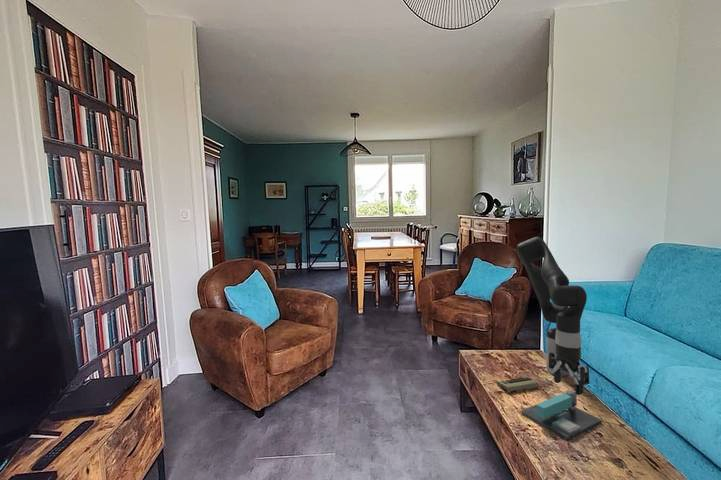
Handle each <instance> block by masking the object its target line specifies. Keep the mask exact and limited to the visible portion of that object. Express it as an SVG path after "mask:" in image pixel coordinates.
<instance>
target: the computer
mask: <svg viewBox="0 0 721 480" xmlns="http://www.w3.org/2000/svg"><path fill="white" fill-rule="evenodd" d="M496 386H497V387H499V388H500V389H501V390H503V391H504V392H505V393H506V394H511V393H513V392H516V393H518V392H524V391H529V390H535V389H539V387H540V386H539V382H538V381H537V380H535V379H533V378H531V377H529V376H522V377H515V378H510V379H502V380H497V381H496Z"/></svg>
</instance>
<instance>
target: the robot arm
mask: <svg viewBox="0 0 721 480" xmlns="http://www.w3.org/2000/svg"><path fill="white" fill-rule="evenodd" d="M516 251H517V254H518V256H519V258H520V260H521V262H522V264H523V266H524V268H525V271H526V272H527V275H528V277H529V280H530V283H531V286H532V288H533V291H534V292H535V295H536V297H537V299H538V301H539V306H540V310H541V314H542V316H543V319H544V320H545V321H547V322H549V323H553V324H556V327H551V328H549V329H547V330H546V371H547V372H548V373H549V374H551V375H553V382H554V383H556V384H559V383H561V381H562V377H565V376H568V375H570V376H571V378H573V379H574V382H575V384H574V385H575V386H574V389H575V390H574V392H575V394H577V396H581V395H582V394H584V386H585V385H590V368H589V366H587V365H582V364H581V363H580V359H581V358H582V336H581V319H582V316H583V313H584V310H585V306H586V304H587V301H588V300H587V299H588V296H587V291H586V290H585V289H584V288H583V287H582V286H580V285H570V279H569V277H568V276H567V275H566V274H565V273H564V270H562V269H561V268H560V266H559V264H558V263H557V260H556V259H555V257H554V256H553V253H552V252H551V249H550V248H549V247H548V244H547V243H546V242H545V240H544V239H543V238H541V237H540V236H535V237H531V238H529V239H527V240H525V241H522V242H519V243H518V244H517V245H516ZM541 259H543V260H542V263H541V267H539V266H537V265H535V264H534V262H537V261H539V260H541Z"/></svg>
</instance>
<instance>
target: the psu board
mask: <svg viewBox="0 0 721 480" xmlns="http://www.w3.org/2000/svg"><path fill="white" fill-rule="evenodd" d="M520 412H521V415H523V416H524V417H526V418H528V419H529V420H531V421H532V422H535V423H536V424H538V425H540V426H542V427H543V428H545V429H546V430H548V431H550V432H552V433H553V434H555V435H556V436H559V437H560V438H562V439H563V440H565V441H567V442H568V441H569V440H571V439H573V438H575V437H577V436H579V435H581V434H583V433H585V432H588V431H589V430H591V429H593V428H595V427H596V426H599V425H601V424H603V423H602V422H603V420H602V419H600V418H598V417H597V416H595V415H592V414H591V413H588V412H586V411H585V410H582V409H580V408H579V407H576V406H572V407H570V408H568V409H566V410H563V411H561V412H559V413H557V414H554V415H552V416H550V417H548V418H545V419H543V418H541V417H539V416H538V415H536V404H534V405H532V406H529V407H527V408H525V409H522V410H521V411H520Z"/></svg>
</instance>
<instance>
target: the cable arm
mask: <svg viewBox="0 0 721 480" xmlns="http://www.w3.org/2000/svg"><path fill="white" fill-rule="evenodd" d="M577 397H578V395H577V394H575V390H571V389H570V390H565V393H561V394H558V395H556V396H554V397H552V398H549V399H547V400H544V401H542V402H539V403H536V404H535V405H536V415H538V416H539V417H541V418H543V419H545V418H548V417H550V416H552V415H554V414H557V413H559V412H561V411H563V410H566V409H568V408H570V407H572V406H575V407H576V406H577V405H578V404H577V403H578V400H577Z"/></svg>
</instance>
